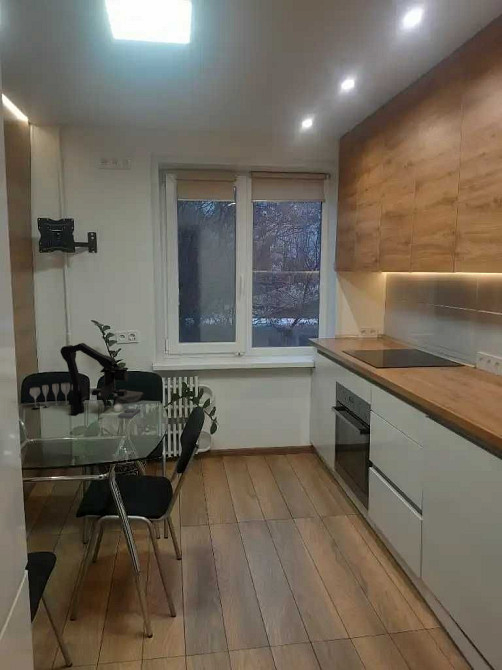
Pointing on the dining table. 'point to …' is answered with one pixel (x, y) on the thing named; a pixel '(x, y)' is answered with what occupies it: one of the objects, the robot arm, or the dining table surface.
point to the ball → (118, 407)
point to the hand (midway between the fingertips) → (109, 407)
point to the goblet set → (55, 387)
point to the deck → (120, 413)
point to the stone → (131, 397)
